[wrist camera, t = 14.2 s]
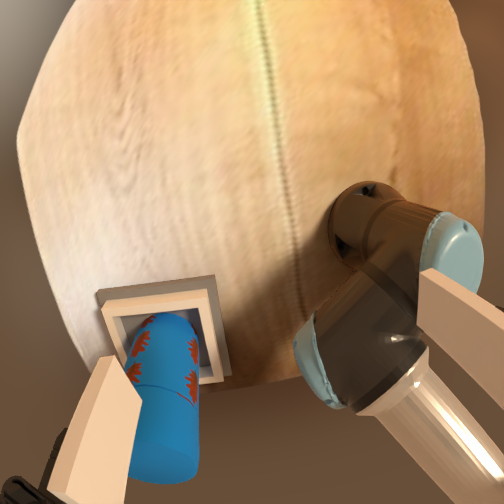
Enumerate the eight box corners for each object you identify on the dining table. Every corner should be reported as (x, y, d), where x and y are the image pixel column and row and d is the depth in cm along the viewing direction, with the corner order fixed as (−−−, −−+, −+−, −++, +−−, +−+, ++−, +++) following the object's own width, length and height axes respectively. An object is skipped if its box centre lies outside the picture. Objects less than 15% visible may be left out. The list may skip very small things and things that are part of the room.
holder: (214, 274, 45) (215, 286, 41) (231, 370, 52) (233, 386, 47) (99, 289, 43) (90, 301, 39) (132, 378, 50) (128, 394, 45)
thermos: (210, 351, 48) (216, 477, 24) (158, 369, 48) (140, 487, 24) (180, 302, 44) (161, 430, 21) (126, 323, 44) (80, 442, 21)
